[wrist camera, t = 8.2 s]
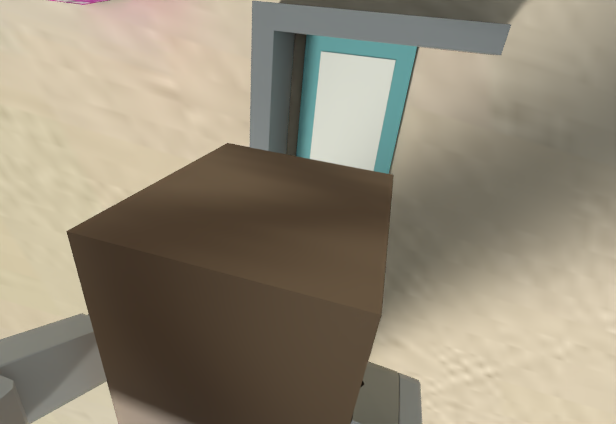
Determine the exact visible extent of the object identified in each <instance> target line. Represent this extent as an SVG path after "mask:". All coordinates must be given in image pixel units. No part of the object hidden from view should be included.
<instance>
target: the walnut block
mask: <svg viewBox="0 0 616 424" xmlns="http://www.w3.org/2000/svg"><path fill="white" fill-rule="evenodd" d="M392 187H393V175H391V174H386V173H381V172H376V171H370V170H365V169H360V168H355V167H349V166H344V165H339V164H334V163H329V162H323V161H318V160H313V159H308V158H303V157H297V156H292V155H287V154H282V153H276V152H271V151H266V150H261V149H256V148H250V147H245V146H240V145H235V144H229V143H227V144H225V145H223V146H221V147H220V148H218V149H216V150H214V151H212V152H210V153H209V154H207V155H205V156H203V157H201V158H199V159H198V160H196V161H194V162H192V163H190V164H189V165H187V166H185V167H183V168H181V169H179V170H178V171H176V172H174V173H172V174H170V175H168V176H167V177H165V178H163V179H161V180H159V181H158V182H156V183H154V184H152V185H150V186H148V187H147V188H145V189H143V190H141V191H139V192H137V193H136V194H134V195H132V196H130V197H128V198H127V199H125V200H123V201H121V202H119V203H117V204H116V205H114V206H112V207H110V208H108V209H106V210H105V211H103V212H101V213H99V214H97V215H96V216H94V217H92V218H90V219H88V220H86V221H85V222H83V223H81V224H79V225H77V226H75V227H74V228H72V229H70V230H68V231H67V235H68V238H69V242H70V246H71V250H72V253H73V257H74V261H75V264H76V268H77V272H78V276H79V279H80V283H81V287H82V290H83V294H84V298H85V302H86V305H87V309H88V313H89V316H90V320H91V324H92V328H93V331H94V335H95V339H96V342H97V346H98V350H99V354H100V357H101V361H102V365H103V368H104V372H105V376H106V379H107V383H108V387H109V391H110V394H111V398H112V402H113V405H114V409H115V413H116V417H117V420H118V424H350V422H351V418H352V415H353V411H354V408H355V405H356V401H357V398H358V394H359V391H360V387H361V384H362V380H363V377H364V373H365V370H366V367H367V363H368V360H369V356H370V353H371V349H372V346H373V342H374V339H375V335H376V332H377V329H378V325H379V322H380V318H381V314H382V303H383V291H384V280H385V268H386V256H387V245H388V233H389V222H390V210H391V199H392Z"/></svg>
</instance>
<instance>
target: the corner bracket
mask: <svg viewBox="0 0 616 424" xmlns="http://www.w3.org/2000/svg"><path fill="white" fill-rule="evenodd" d="M510 26H511V25H510V24H499V23H488V22H478V21H467V20H456V19H445V18H434V17H423V16H413V15H402V14H391V13H380V12H369V11H358V10H348V9H337V8H326V7H315V6H304V5H293V4H282V3H272V2H261V1H252V51H251V106H250V148H256V149H261V150H266V151H271V152H276V153H282V154H286V151H287V137H288V123H289V109H290V95H291V81H292V67H293V53H294V38H295V33H297V34H306V47H305V58H304V70H303V82H302V94H301V105H300V117H299V129H298V141H297V152H296V156H297V157H303V158H308V159H313V160H318V161H323V162H329V163H334V164H339V165H344V166H349V167H355V168H360V169H365V170H370V171H376V172H381V173H386V174H389V170H390V166H391V161H392V157H393V152H394V148H395V143H396V139H397V134H398V130H399V125H400V121H401V116H402V112H403V108H404V103H405V99H406V94H407V90H408V85H409V81H410V76H411V72H412V67H413V63H414V58H415V54H416V49H417V47H425V48H434V49H443V50H452V51H461V52H470V53H479V54H491V55H501V54H502V51H503V47H504V44H505V41H506V38H507V35H508V32H509V29H510Z"/></svg>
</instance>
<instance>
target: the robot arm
mask: <svg viewBox="0 0 616 424" xmlns="http://www.w3.org/2000/svg"><path fill="white" fill-rule="evenodd" d="M106 381H107V379H106V376H105V372H104V368H103V365H102V361H101V357H100V354H99V350H98V346H97V342H96V339H95V335H94V331H93V328H92V324H91V320H90V316H89V314H88V315H85V314H83V313H82V314H78V315H75V316H72V317H69V318H66V319H63V320H60V321H57V322H54V323H50V324H47V325H44V326H41V327H38V328H35V329H32V330H29V331H26V332H23V333H19V334H16V335H13V336H10V337H7V338H4V339H1V340H0V424H30V423H32V422H34V421H36V420H38V419H39V418H41V417H43V416H45V415H47V414H48V413H50V412H52V411H54V410H56V409H57V408H59V407H61V406H63V405H65V404H66V403H68V402H70V401H72V400H74V399H75V398H77V397H79V396H81V395H83V394H85V393H86V392H88V391H90V390H92V389H94V388H95V387H97V386H99V385H101V384H103V383H104V382H106ZM350 424H422V407H421V385H420V382H419V380H417V379H414V378H411V377H409V376H406V375H403V374H401V373H397V372H396V371H394V370H391V369H388V368H385V367H383V366H380V365H377V364H374V363H371V362H369V361H368V363H367V367H366V370H365V373H364V377H363V380H362V384H361V387H360V391H359V394H358V398H357V401H356V405H355V408H354V411H353V415H352V418H351V422H350Z"/></svg>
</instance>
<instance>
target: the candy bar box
mask: <svg viewBox="0 0 616 424" xmlns="http://www.w3.org/2000/svg"><path fill="white" fill-rule="evenodd" d="M50 1H59V2H66V3H74V4H81V5H85V4H91V3H96V2H102V1H108V0H50Z"/></svg>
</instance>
